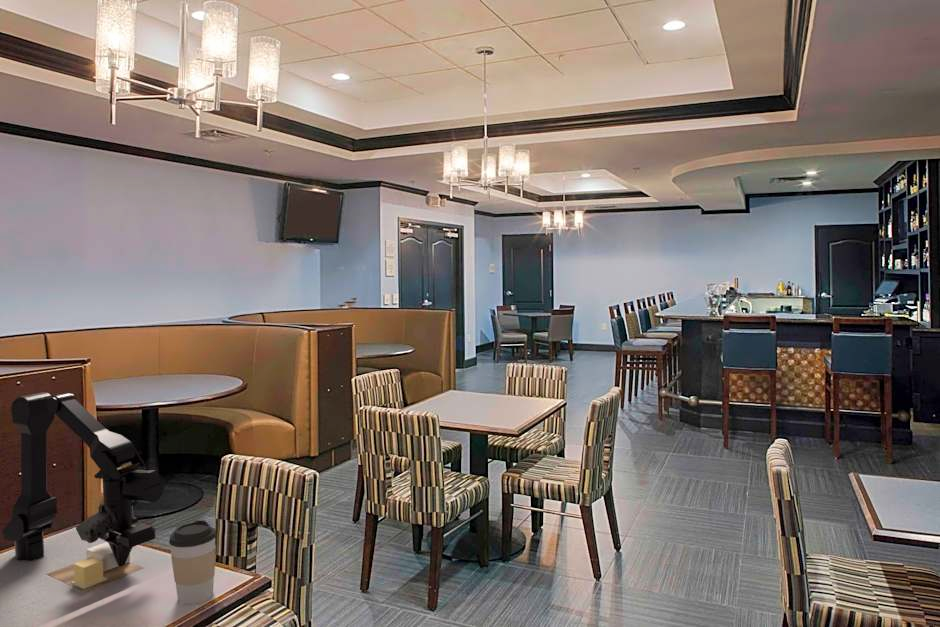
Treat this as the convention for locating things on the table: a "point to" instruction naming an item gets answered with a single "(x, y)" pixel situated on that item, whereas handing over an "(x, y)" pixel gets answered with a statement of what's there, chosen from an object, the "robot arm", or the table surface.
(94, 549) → the cover
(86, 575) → the block
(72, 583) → the thin mint green panel
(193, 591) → the coffee cup
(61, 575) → the board
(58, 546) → the table surface
